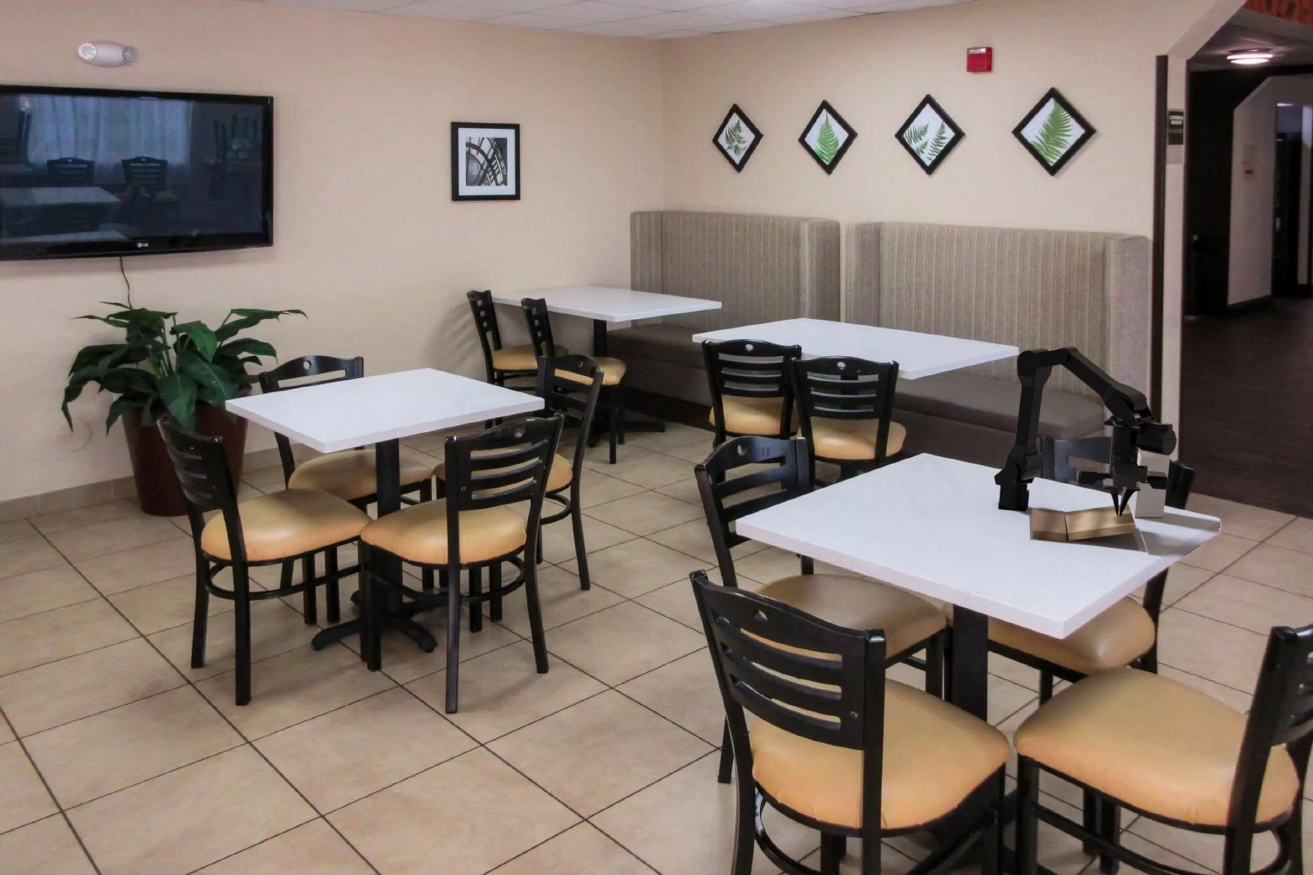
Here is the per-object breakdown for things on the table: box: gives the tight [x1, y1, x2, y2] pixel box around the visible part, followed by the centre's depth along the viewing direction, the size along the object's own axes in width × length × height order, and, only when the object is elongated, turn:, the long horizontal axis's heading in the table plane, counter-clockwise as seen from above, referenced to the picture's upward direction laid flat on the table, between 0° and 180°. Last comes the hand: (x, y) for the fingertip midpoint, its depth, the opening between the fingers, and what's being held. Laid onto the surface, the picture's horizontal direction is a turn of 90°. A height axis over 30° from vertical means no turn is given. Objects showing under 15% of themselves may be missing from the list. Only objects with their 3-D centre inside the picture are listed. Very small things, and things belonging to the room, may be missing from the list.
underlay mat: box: [1028, 514, 1140, 551], centre depth 255 cm, size 22×20×1 cm
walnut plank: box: [1031, 508, 1066, 542], centre depth 257 cm, size 7×18×2 cm, turn 163°
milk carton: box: [1127, 448, 1171, 518], centre depth 269 cm, size 7×7×19 cm
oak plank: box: [1064, 504, 1137, 541], centre depth 253 cm, size 14×17×2 cm
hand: (1118, 514), depth 252 cm, fingers closed
